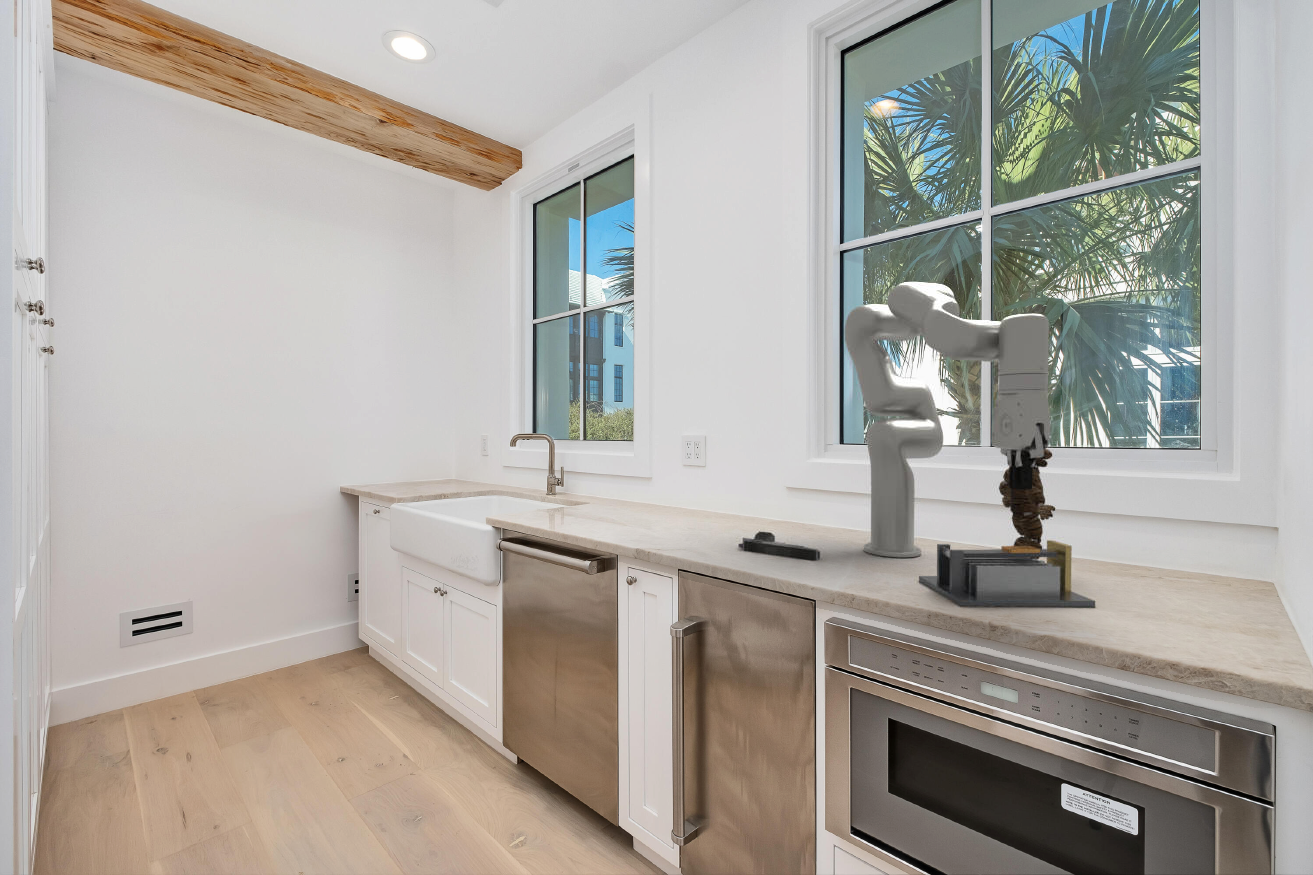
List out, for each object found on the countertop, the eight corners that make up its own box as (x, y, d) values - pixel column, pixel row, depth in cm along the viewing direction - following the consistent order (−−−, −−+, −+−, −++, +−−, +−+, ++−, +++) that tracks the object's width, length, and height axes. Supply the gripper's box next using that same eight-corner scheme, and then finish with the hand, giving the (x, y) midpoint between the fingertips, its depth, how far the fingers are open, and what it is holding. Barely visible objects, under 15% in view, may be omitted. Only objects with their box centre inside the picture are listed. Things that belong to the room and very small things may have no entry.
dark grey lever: (951, 560, 103) (951, 550, 103) (941, 555, 107) (941, 546, 107) (1058, 559, 103) (1058, 549, 103) (1044, 554, 107) (1044, 545, 107)
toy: (1071, 585, 111) (1073, 425, 110) (1030, 583, 112) (1032, 425, 112) (1027, 561, 130) (1028, 425, 130) (993, 559, 132) (994, 425, 131)
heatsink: (961, 606, 97) (961, 552, 97) (918, 581, 113) (919, 534, 113) (1095, 606, 97) (1096, 552, 97) (1033, 581, 113) (1034, 534, 113)
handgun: (757, 530, 152) (733, 538, 143) (835, 540, 140) (815, 549, 130) (757, 543, 153) (733, 552, 143) (835, 554, 140) (815, 564, 131)
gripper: (978, 388, 112) (976, 484, 113) (1027, 382, 97) (1025, 494, 98) (1018, 388, 112) (1016, 484, 113) (1073, 383, 97) (1070, 494, 98)
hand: (1020, 488), depth 105 cm, fingers closed
